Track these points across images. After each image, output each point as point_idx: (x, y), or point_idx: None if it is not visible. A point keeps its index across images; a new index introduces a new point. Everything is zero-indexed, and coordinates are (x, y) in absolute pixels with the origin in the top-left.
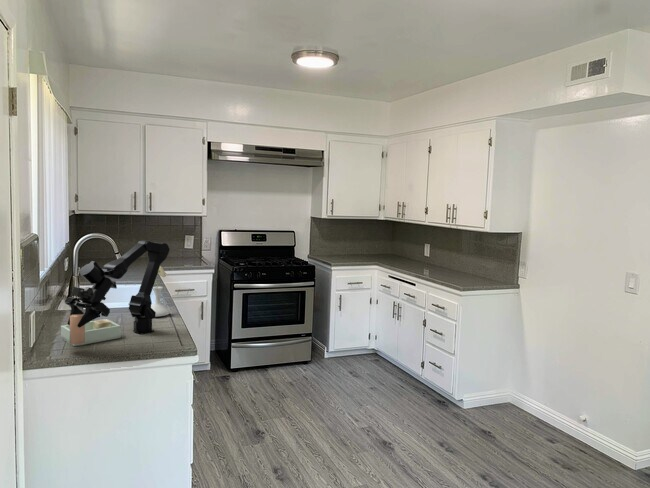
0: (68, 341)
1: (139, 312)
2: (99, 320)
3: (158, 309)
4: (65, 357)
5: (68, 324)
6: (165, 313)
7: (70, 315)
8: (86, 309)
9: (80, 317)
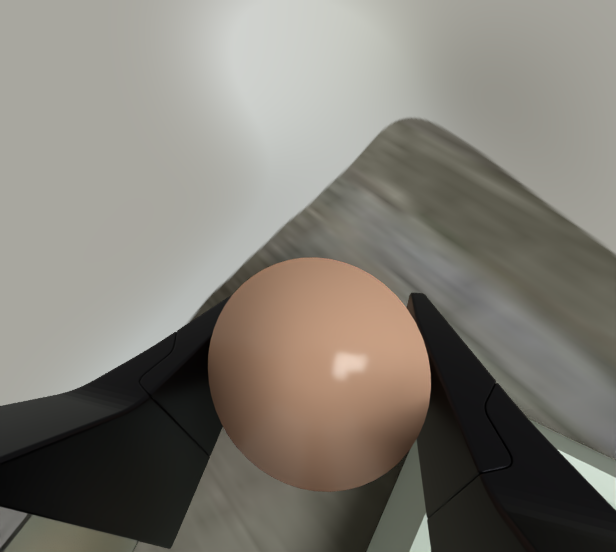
0: (539, 425)
1: None
2: None
3: None
4: (325, 231)
5: (409, 296)
6: None
7: (403, 310)
8: (25, 425)
9: (222, 325)
